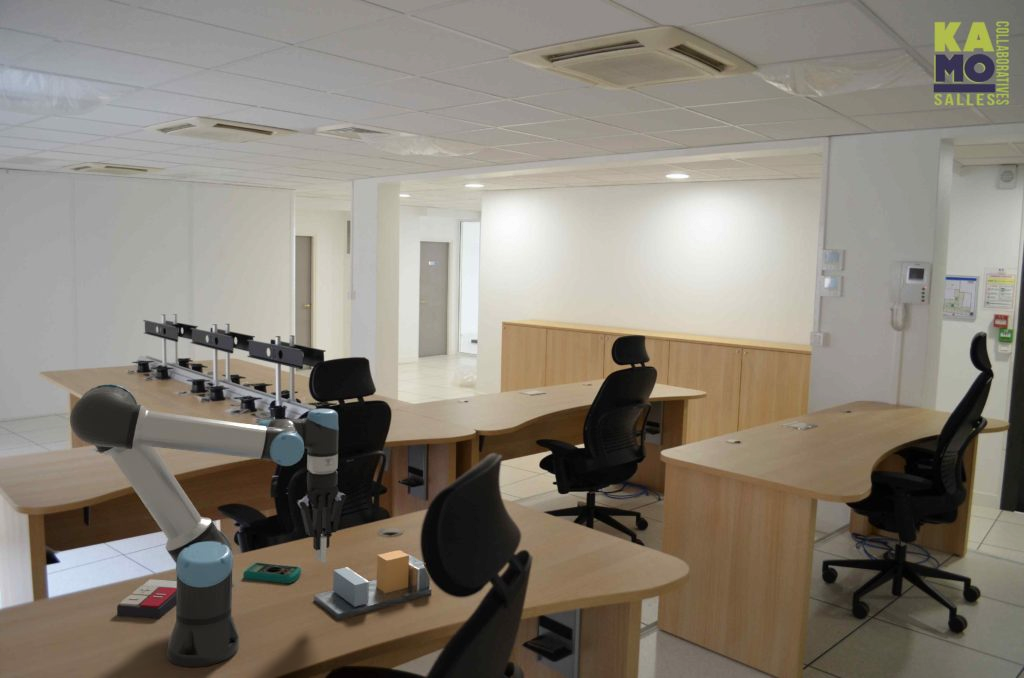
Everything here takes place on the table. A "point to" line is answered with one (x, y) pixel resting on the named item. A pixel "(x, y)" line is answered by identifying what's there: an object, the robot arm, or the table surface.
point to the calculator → (150, 600)
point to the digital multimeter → (272, 573)
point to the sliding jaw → (351, 586)
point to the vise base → (379, 594)
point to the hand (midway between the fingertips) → (321, 560)
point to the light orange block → (392, 571)
